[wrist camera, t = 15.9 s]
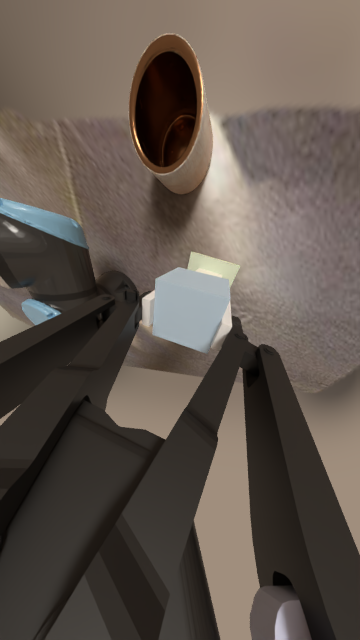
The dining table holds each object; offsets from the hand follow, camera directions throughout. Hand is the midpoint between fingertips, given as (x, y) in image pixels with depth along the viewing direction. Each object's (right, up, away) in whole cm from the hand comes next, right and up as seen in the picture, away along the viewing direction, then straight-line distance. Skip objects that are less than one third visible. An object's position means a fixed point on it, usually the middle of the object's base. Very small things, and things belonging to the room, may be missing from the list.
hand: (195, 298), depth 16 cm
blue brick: (0, 0, 0) cm, 0 cm away
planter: (-1, +29, +9) cm, 30 cm away
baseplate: (+5, +7, +18) cm, 21 cm away
